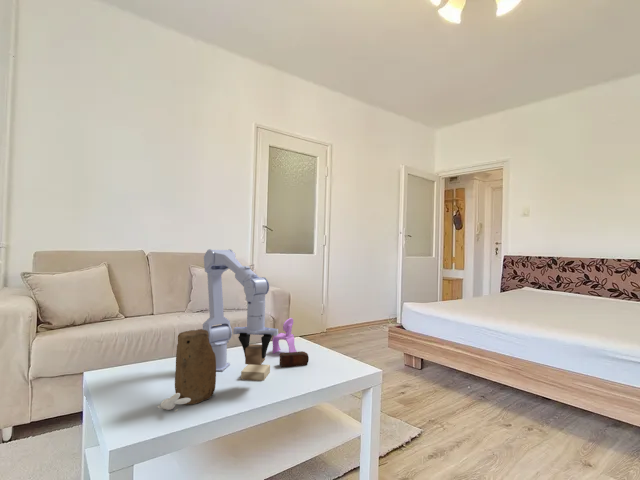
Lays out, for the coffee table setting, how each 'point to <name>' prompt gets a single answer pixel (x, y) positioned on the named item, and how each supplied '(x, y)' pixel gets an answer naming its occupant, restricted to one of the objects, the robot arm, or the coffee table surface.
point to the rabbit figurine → (173, 402)
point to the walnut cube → (254, 354)
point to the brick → (293, 359)
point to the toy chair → (285, 337)
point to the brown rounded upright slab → (195, 366)
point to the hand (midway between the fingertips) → (255, 356)
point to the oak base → (255, 372)
